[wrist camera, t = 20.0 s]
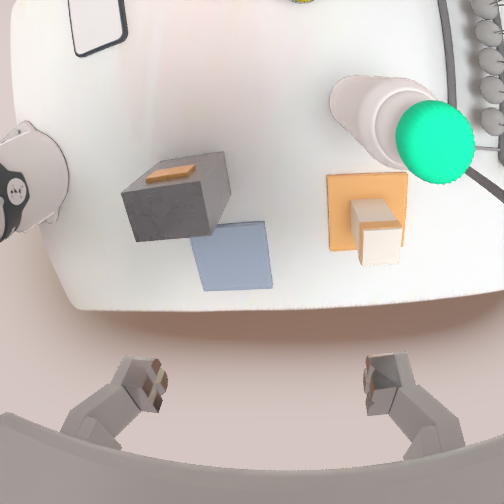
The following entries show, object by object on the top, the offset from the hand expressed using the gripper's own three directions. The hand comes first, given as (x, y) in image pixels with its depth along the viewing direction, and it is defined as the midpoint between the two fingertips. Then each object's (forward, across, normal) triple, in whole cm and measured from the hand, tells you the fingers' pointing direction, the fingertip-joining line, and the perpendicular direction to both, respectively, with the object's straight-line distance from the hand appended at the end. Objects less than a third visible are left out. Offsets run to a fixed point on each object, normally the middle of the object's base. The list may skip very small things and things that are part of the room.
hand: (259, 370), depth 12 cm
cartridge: (+32, +11, -9) cm, 35 cm away
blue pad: (+33, -9, -15) cm, 37 cm away
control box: (+33, -12, -2) cm, 35 cm away
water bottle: (+33, +10, +6) cm, 35 cm away
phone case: (+34, -22, +27) cm, 49 cm away
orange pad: (+33, +11, -9) cm, 36 cm away
